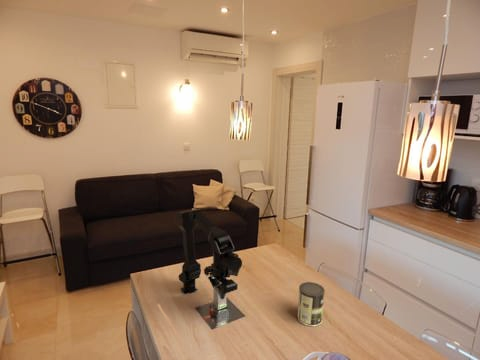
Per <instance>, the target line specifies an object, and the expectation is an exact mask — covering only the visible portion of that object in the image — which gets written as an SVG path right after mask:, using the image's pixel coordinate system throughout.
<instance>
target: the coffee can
mask: <svg viewBox="0 0 480 360" xmlns="http://www.w3.org/2000/svg"><path fill="white" fill-rule="evenodd" d="M298 290H299V291H298V305H297V306H298V307H297V319H298V321H299V323H301V324H302V325H305V326H307V327H313V328H314V327H319V326H320V325H321V324H322V322H323V309H324V298H325V292H326V291H325V288H324V286H322V285H321V284H320V283H316V282H313V281H312V282H311V281H306V282H303V283H301V284H300V285H299V287H298Z"/></svg>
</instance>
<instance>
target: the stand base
mask: <svg viewBox="0 0 480 360" xmlns="http://www.w3.org/2000/svg"><path fill="white" fill-rule="evenodd" d="M213 302H214V301H211V302H208V303H206V304H203V305H199V306H196V307H194V309H195V310H196V312H197V313H198V314H199V315H200V317H201V318H202V319H203V321H204V322H205V323H206V324H207V326H208V327H209V328H210V329H211V330H215V329H218V328H220V327H223V326H225V325H227V324H230V323H233V322H235V321H237V320H240V319H243V318H245V317H246V315H245V314H244V313H243V312H242V311H241V309H239V307H237V305H235V304H234V303H233V301H231V299H229V297H227V296H226V304H227V306H226V307H225V308H222V309H219V310H218V309H217V308H216V307H215V306H214V304H213Z"/></svg>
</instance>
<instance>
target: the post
mask: <svg viewBox="0 0 480 360" xmlns="http://www.w3.org/2000/svg"><path fill="white" fill-rule="evenodd" d="M220 284H221V283H220ZM220 284H218V285H215V286H212V288H213V287H214V288H213V301H212V302H213V304H214V306H215V307H216V308H217V309H218V310H219V309H222V308H225V307H226V306H227V304H226V297H227V293H226V294H225V297H224V299H221V297H220V294H219V292H218V289H217V286H220Z"/></svg>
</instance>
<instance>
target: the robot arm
mask: <svg viewBox="0 0 480 360" xmlns="http://www.w3.org/2000/svg"><path fill="white" fill-rule="evenodd" d="M176 222H177V226H178V227H179V229H180V230H181V232H182V242H183V243H182V245H183V252H184V253H183V254H184V261H183V264H182V267H181V272H180V273H179V274H178V280H179V281H180V282H181V283H183V286H182V287H181V288H180V290H181V292H182V293H183V294H184V295H187V294H192V293H196V291H198V289H197V287H196V280H197V279H199V278H200V275H201V273H202V269H201V268H202V267H201V265H202V264H201V263H200V262H198V261H197V259H196V250H195V240H194V239H195V238H194V228H195V226H196V225H197V226H198V227H199V228H200V229H201V230H202V232H203V233H205V235H206V236H207V238H208V239H207V241H208V243H209V244H210V248H209V249H210V250H211V251H212V252H213V253H212V255H213V256H212V261H213V262H212V263H211V265H208V266H205V267H204V269H203V274H205V276H207V279H208V280H209V283H210V284H211V286H212V288H213V289H214V287H213V286H215V285H218V284H220V286H217V289H218V292H219V294H220V297H221V299H224V297H225V294H226V295H227V294H228V293H231V292H233V291H236V290H238V285H239V284H238V283H236V281H234V280H233V279H232V278H231V279H227V278H230V277H231V276H235V277H238V275H239V273H240V270H241V268H242V266H243V260H242V259H241V258H240V257H239V254H237V253H235V252H234V251H235V250H236V249H235V246H234V243H233V241H232V239H231V237H230V235H229V233H228V232H227V231H225V230H224V229H222V228H220V227H219V228H218V227H217V226H215V224H214V223H213V222H212V221H211V220H210V219H209V218H208V217H207V216H206V215H205V214H204V213H203V211H202V209H199V208H198V209H197V208H196V209H193V210H189V209H188V210H185V211H180V212H178V213H177V215H176Z"/></svg>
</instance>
